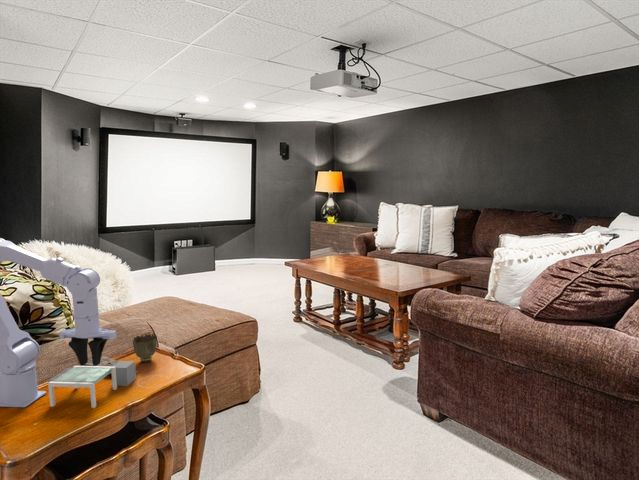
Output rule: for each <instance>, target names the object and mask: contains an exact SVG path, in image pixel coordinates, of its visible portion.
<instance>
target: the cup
mask: <svg viewBox="0 0 639 480" xmlns="http://www.w3.org/2000/svg"><path fill="white" fill-rule="evenodd" d="M131 340H132V344H133V349H134V353H135V356H136V357H138V358H139V360H140V362H142V363H147V362H148V363H149V362H151V361H152V359H153V355H155V353H156V351H157V344H158V336H157V334H154V333H153V334H151V333H148V334H147V333H145V335H143V334H141V336H140V335H136V337H133V339H131Z"/></svg>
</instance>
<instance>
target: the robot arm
mask: <svg viewBox="0 0 639 480" xmlns="http://www.w3.org/2000/svg"><path fill="white" fill-rule="evenodd" d="M64 260H65V259H64V258H63V257H57V258H56V257H52V258H49V259H47V258H44V257H42V256H40V255H38V254H35V252H31V251H29V250H28V249H25V248H22V247H20V246H19V245H16V244H15V243H13V242H12V241H11V240H5V239H4V238H2V237H0V265H1V264H2V263H3V262H11V263H14V264H17V265H19V266H22V267H25V268H28V269H32V270H35V271H38V272H40V275H41V277H42V278H43V279H46V280H47V281H50V282H53V283H54V284H55V283H56V284H58V285H61V286H63V287H65V288H66V289H67V290H68V292H70V295H71V297H72V305H73V307H72V309H73V320H74V329H62V330H61V331H60V332H59V338H60V340H64V339H71V340H70V341H69V342H68V346H69V347H70V348H71V350H72V351H73V352H74V354H75V356H76V357H77V358H76V359H78V362H79V366H86V365H87V364H86V363H87V362H88V359H89V358H88V357H89V355H88V347H89V348H90V349H89V350H90V353H91V360H92V362H93V365H92V366H97V365H98V364H100V361H101V357H102V354H103V352H104V348H105V346H106V343H107V341H108V340H109V341H113V340H114V339H116V338H117V330H110V329H105V328H101V326H100V314H99V313H100V312H99V301H98V289H97V287H99V284H100V282H101V276H100V274H99V273H98V272H97V271H96V270H94V269H93V268H91V267H88V268H87V267H86V268H82V266H81V265H74V264H71V263H68V262H66V261H64ZM89 339H90V341H89ZM40 353H41V347H40V344H39V343H38V342H37V341H36V340H35V339H34V338H32V336H31V335H30V333H29V332H27V331H25V330H22V329H20V328H19V326H18V324H17V322H16V321H15V318H14V317H13V315H12V313H11V311H10V309H9V307H8V306H7V303H6V302H5V300H4V297H3V296H2V294H1V293H0V406H1V407H5V408H6V407H7V408H26V407H28V406H30V405H31V404H32V403H33V402H35V401H37V400H38V399H40V398H41V397H42V396H44V395H45V394H47V391H45V390H41V391H40V390H39V389H38V388H39V387H38V379H37V378H38V377H37V367H36V366H37V365H36V363H37V357H39V355H40Z"/></svg>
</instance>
